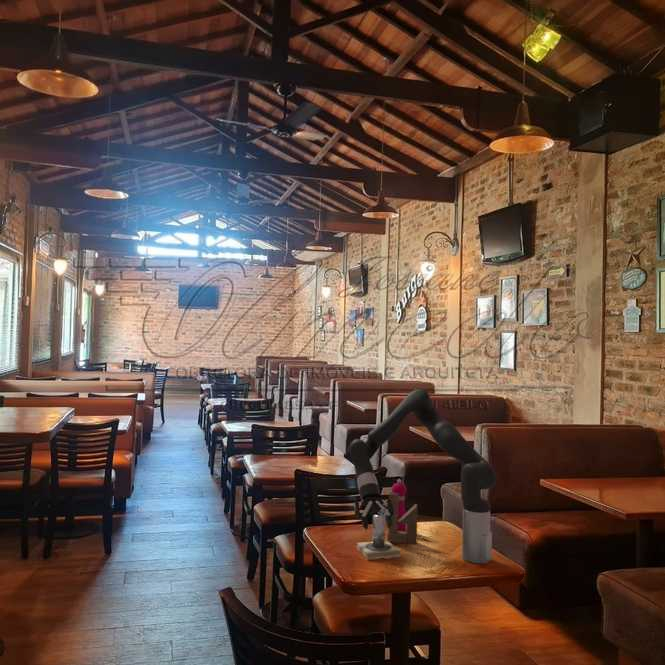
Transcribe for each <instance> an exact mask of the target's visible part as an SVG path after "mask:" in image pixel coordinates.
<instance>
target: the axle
mask: <svg viewBox="0 0 665 665" xmlns="http://www.w3.org/2000/svg"><path fill="white" fill-rule="evenodd" d="M385 519H386V518H385V515H384V514H379V513H372V532H371V533H372V534H371V535H372V536H371V539H372V540H371V542H372V547H374V548H384V547H385V541H386V540H385V539H386V537H385V536H386V520H385Z"/></svg>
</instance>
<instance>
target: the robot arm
mask: <svg viewBox="0 0 665 665" xmlns="http://www.w3.org/2000/svg"><path fill="white" fill-rule="evenodd" d="M409 414H412V415H413V416H414V417H415V419H417V420H418V422H420V423H421V424H422V425H423V426H424V427H425V428H426V429H427V431H428V432H429V434H430V436H431V437H432V439H433V440H434V442H435V443H436V444H437V446H439V448H440V449H441V451H443V452H444V453H445V454H446V455H447V456H450V457H451V458H453V459H455V460H457V461H459V462H460V463H462V464H464V465H463V467H462V468H461V472H460V487H461V488H460V489H461V490H460V491H461V494H460V496H461V501H462V502H461V503H462V509H463V510H462V543H461V544H462V547H461V548H462V549H461V556H462V557H461V558H462V560H464V561H466V562H468V563H473V564H483V565H486V564H487V563H489V562H490V561H491V560H492V556H493V555H492V550H493V549H492V547H493V546H492V545H493V544H492V543H493V542H492V541H493V532H492V531H491V502H490V501H489V500H487V499H484V498H482V497H481V490H488V489H491V488H493V487H495V486H496V484H497V472H496V471H495V469H494V467H493V466H492V464H490V462H489V461H487V459H485V458H484V457H483V456H482V455H481V454H480V453H479V452H477V451H476V449H475V448H474V447H473V446H472V445H471V444H470V443H469V441H467V439H465V437H464V436H462V434H461V432H460V431H459V429H457V428H456V426H454V425H453V424H452V423H451V422H450V421H448V420H447V419H446V420H445V419H444V418H442V416H440V414H439V413H438V412H437V409H436V408H435V406H434V404H433V402H432V399H431V396H430V394H429V393H428V391H427V390H426V389H423V388H416V389H414V390H412V391H411V392H410V393H409V394H407V395H406V397H405V398H404V399H403V400H402V401H401V402H400V403H399V404H398V406H397V407H396V408H394V409H393V411H392V412H391V413H390V414H389V415H388V416H387V417H386V418H384V420H383V421H381V422H380V423H379V424H378V425H376V426H375V427H374V428H373V429H372V430H370V431H369V432H368V434H367V440H366V441H364V440H363V439H362V438H361V439H360V438H356V439H353V440H352V441H351V442H350V444H349V448H348V450H349V454H350V455H349V456H350V457H351V458H350V459H351V460H352V463H353V466H354V472H355V477H356V480H357V481H356V482H357V487H358V493H359V496H360V501H359V500H355V501H354V503H353V511H354V518H355V519H357V520H360V521H361V524H362V528H363V529H364V530H368V528H369V523H368V519H367V514H369V515H373V514H377V513H379V514H384V515H385V525H386V528H387V529H388V528H390V527H391V525H392V522H391V518H390V517H392V516H393V514H394V510H393V507H392V504H391V501H390V499H389V498H388V499H387V500H383V499H382V495H381V490H380V488H379V487H380V486H379V483H378V480H377V478H376V474H375V470H374V467H373V464H372V462H371V459H372V458H373V457H374V455H375V454H376V453H377V451H379V449H380V447H381V446H383V445H384V444H385V443H386V442H388V441H389V440H390V439H391V438H392V437H393V436H394V435H395V434H396V433H397V432H398V430H399V428H400V426H401V424H402V423H403V421H404V420H405V418H407V416H408V415H409ZM384 506H385V507H384ZM360 507H362V509H363V512H362V513H361V511H360Z"/></svg>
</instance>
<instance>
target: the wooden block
mask: <svg viewBox="0 0 665 665" xmlns="http://www.w3.org/2000/svg"><path fill="white" fill-rule="evenodd" d="M388 499H390V501H391V504H392V507H393V510H394V514H393V516H392V517H390V518H391V522H392V525H391V527H390V528H387V532H386V533H387V534H386V536H387V537H386V541H389V542H393V543H392V544H408V543H411V544H410V545H416V544H417V543H418V542H417V541H418V540H417V538H418V534H417V533H418V504H417V503H415V504H414V505H413V506H412V507H410V509H408V510H407V511H406V514H404V515H403V516H402V517H401V518H400V519H399V520H398V499H399V495H398V494H397V493H393V492H389V494H388ZM398 524H406V530H405V532H404V531H398Z"/></svg>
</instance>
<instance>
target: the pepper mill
mask: <svg viewBox="0 0 665 665" xmlns="http://www.w3.org/2000/svg"><path fill="white" fill-rule="evenodd" d="M402 482H403V481H402V480H401V479H400V478H398V479H397V482H395V483H394V484H393V485H392V487H391V493H397V494H398V495H399V499H398V520H399V519H400V518H401V517H402V516H403V515H404V514H406V513H407V511H406V509H405V500H406V495H405V494H407V487H406V486H407V485H405V484H404V483H402ZM406 525H407V524H398V531H402V532H404V531H403V530H405V531H406Z"/></svg>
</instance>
